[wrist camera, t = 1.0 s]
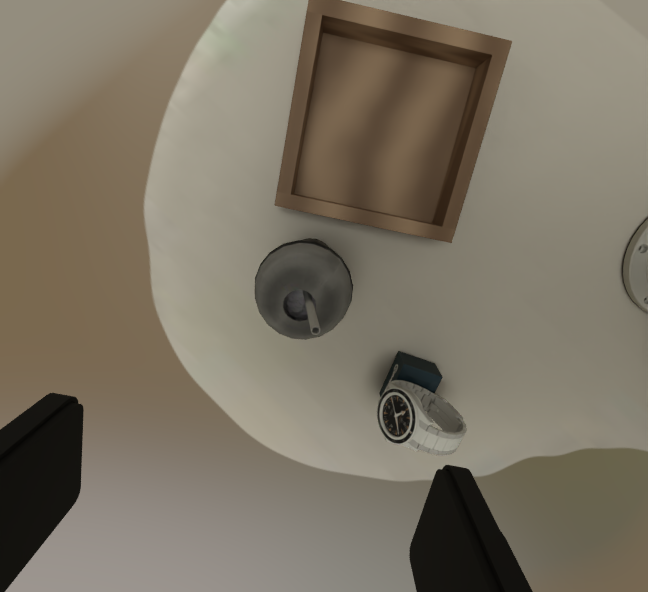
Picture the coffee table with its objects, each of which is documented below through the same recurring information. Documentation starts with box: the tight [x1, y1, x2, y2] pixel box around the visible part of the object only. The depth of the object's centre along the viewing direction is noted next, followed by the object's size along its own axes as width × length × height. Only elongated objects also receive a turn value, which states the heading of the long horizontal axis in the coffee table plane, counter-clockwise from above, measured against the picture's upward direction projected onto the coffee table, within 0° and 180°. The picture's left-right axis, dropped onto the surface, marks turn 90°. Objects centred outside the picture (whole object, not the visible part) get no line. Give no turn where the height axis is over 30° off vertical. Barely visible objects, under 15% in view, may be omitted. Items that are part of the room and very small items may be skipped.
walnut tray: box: [275, 0, 512, 243], centre depth 34 cm, size 16×16×4 cm
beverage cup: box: [255, 239, 353, 340], centre depth 29 cm, size 7×7×20 cm
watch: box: [377, 351, 467, 456], centre depth 37 cm, size 6×8×11 cm
